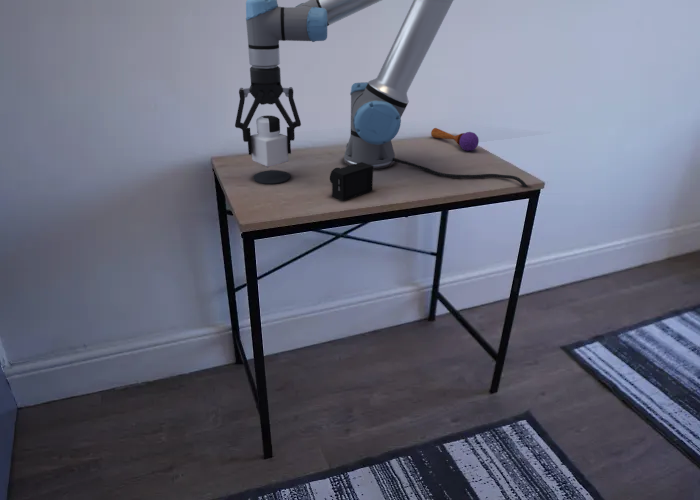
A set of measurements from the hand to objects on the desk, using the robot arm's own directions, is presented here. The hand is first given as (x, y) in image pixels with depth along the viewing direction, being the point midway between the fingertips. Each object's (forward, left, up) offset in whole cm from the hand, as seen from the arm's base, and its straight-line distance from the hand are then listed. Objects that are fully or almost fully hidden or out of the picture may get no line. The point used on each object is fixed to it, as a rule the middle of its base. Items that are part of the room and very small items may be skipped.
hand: (269, 152), depth 142 cm
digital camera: (-24, +4, -7) cm, 25 cm away
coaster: (0, 0, -7) cm, 7 cm away
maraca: (-44, -48, -7) cm, 65 cm away
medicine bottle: (0, 0, -3) cm, 3 cm away
